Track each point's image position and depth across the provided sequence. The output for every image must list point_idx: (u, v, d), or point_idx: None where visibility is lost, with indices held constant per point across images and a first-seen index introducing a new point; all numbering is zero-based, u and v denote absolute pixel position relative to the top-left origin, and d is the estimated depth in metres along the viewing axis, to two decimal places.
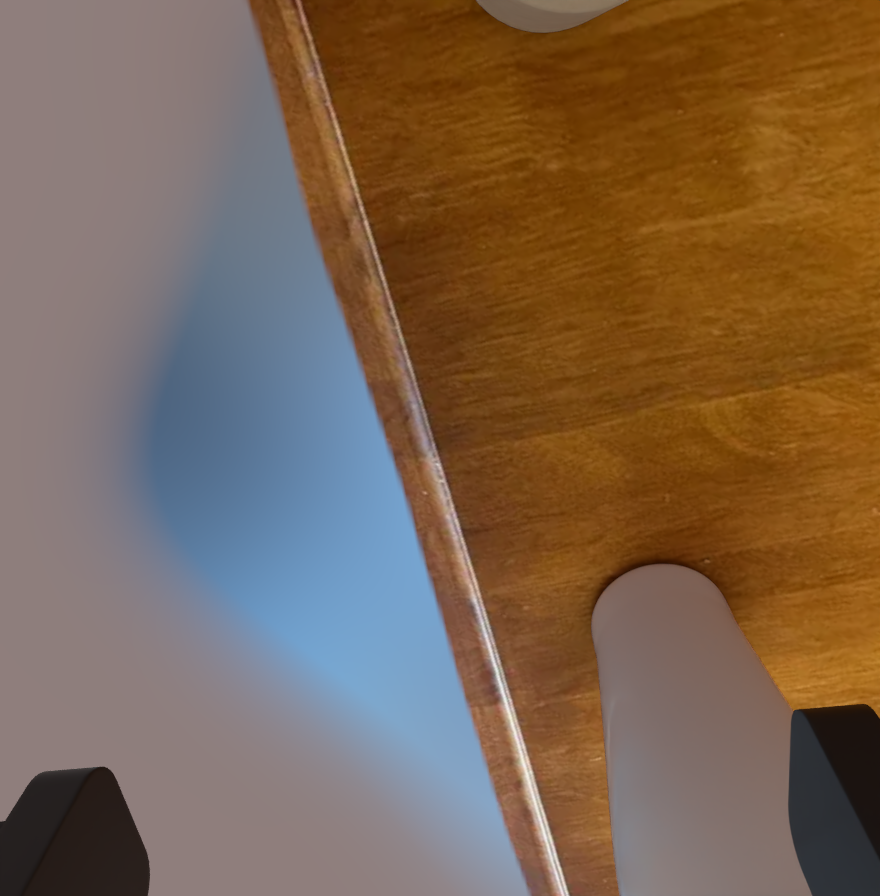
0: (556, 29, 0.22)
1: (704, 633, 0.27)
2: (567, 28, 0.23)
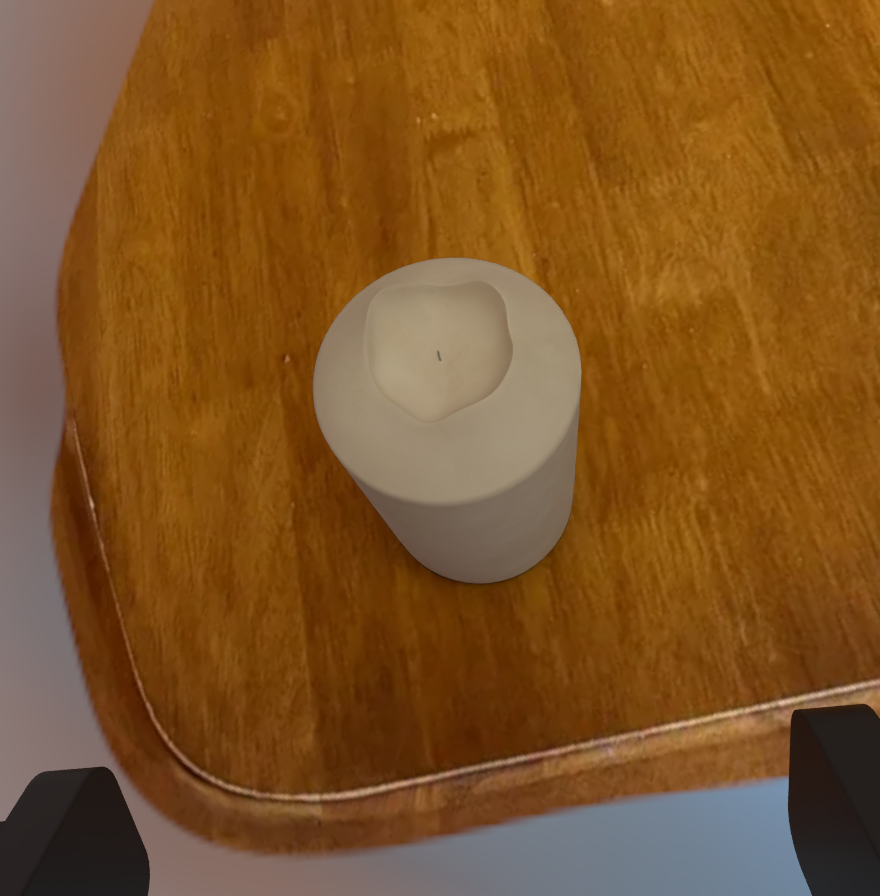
0: None
1: None
2: None
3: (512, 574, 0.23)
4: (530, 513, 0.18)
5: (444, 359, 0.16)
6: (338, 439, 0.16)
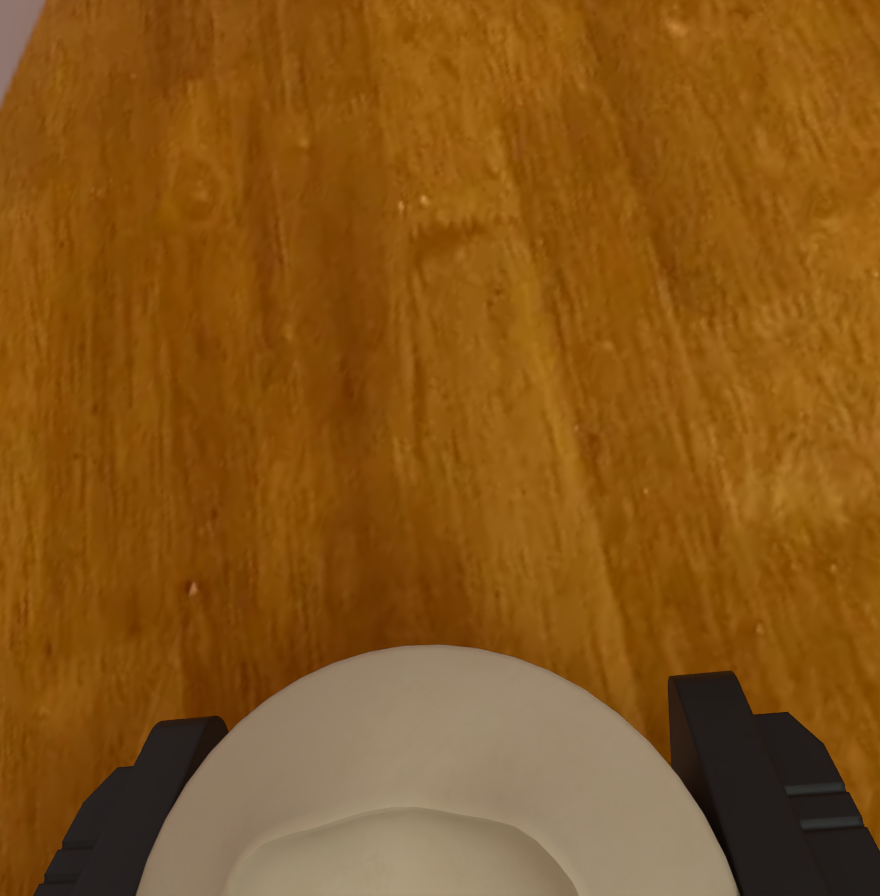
0: None
1: None
2: None
3: None
4: None
5: None
6: None
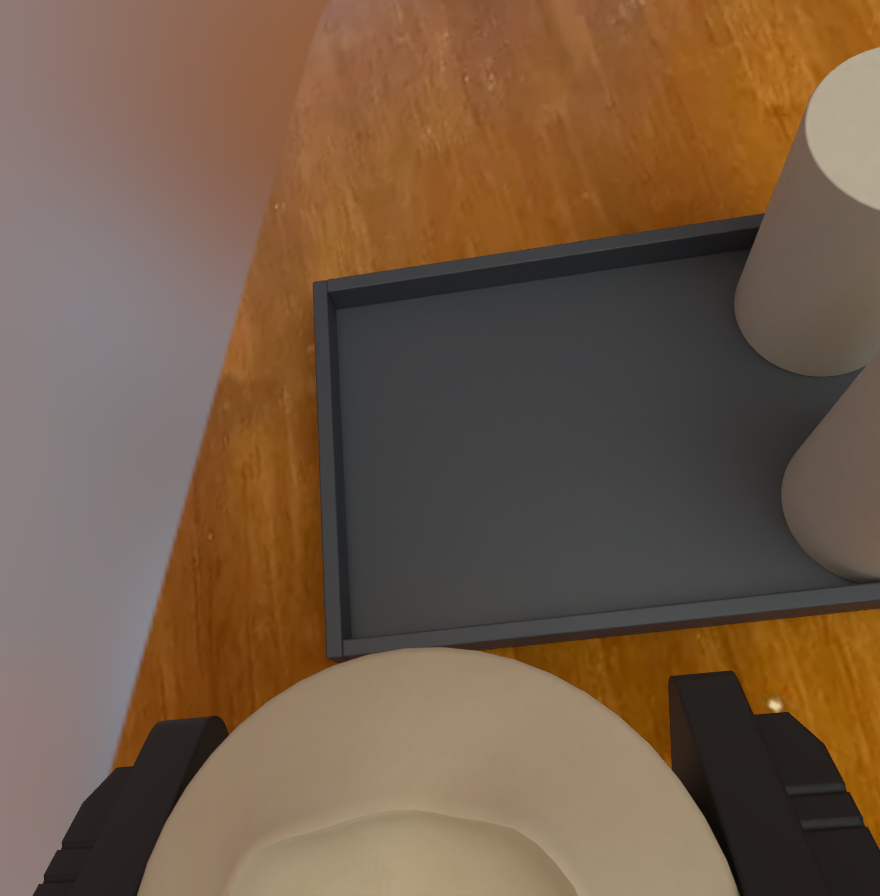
0: None
1: None
2: None
3: None
4: None
5: None
6: None
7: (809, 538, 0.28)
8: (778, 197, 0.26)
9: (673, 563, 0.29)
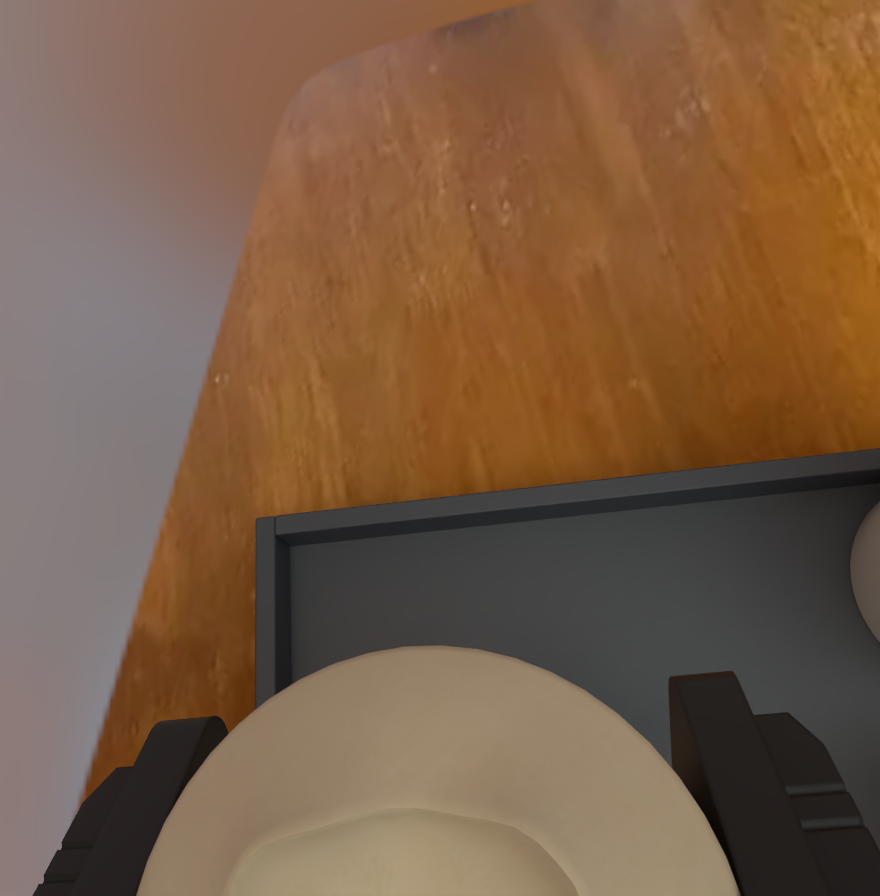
0: None
1: None
2: None
3: None
4: None
5: None
6: None
7: None
8: None
9: None
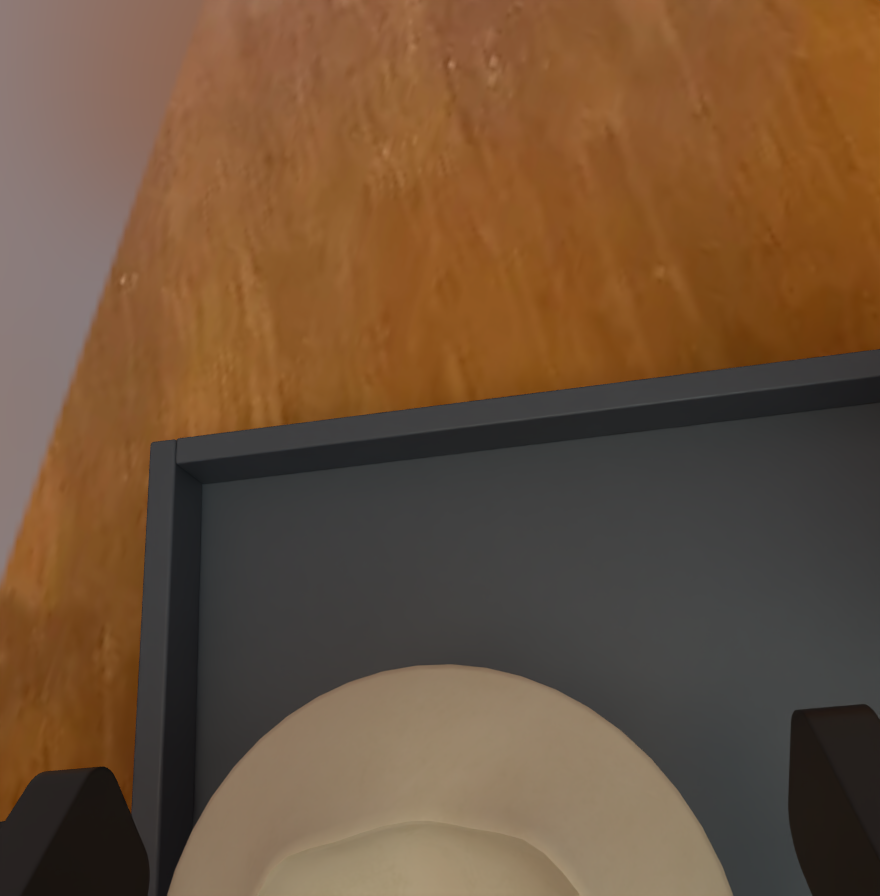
0: None
1: None
2: None
3: None
4: None
5: None
6: None
7: None
8: None
9: None
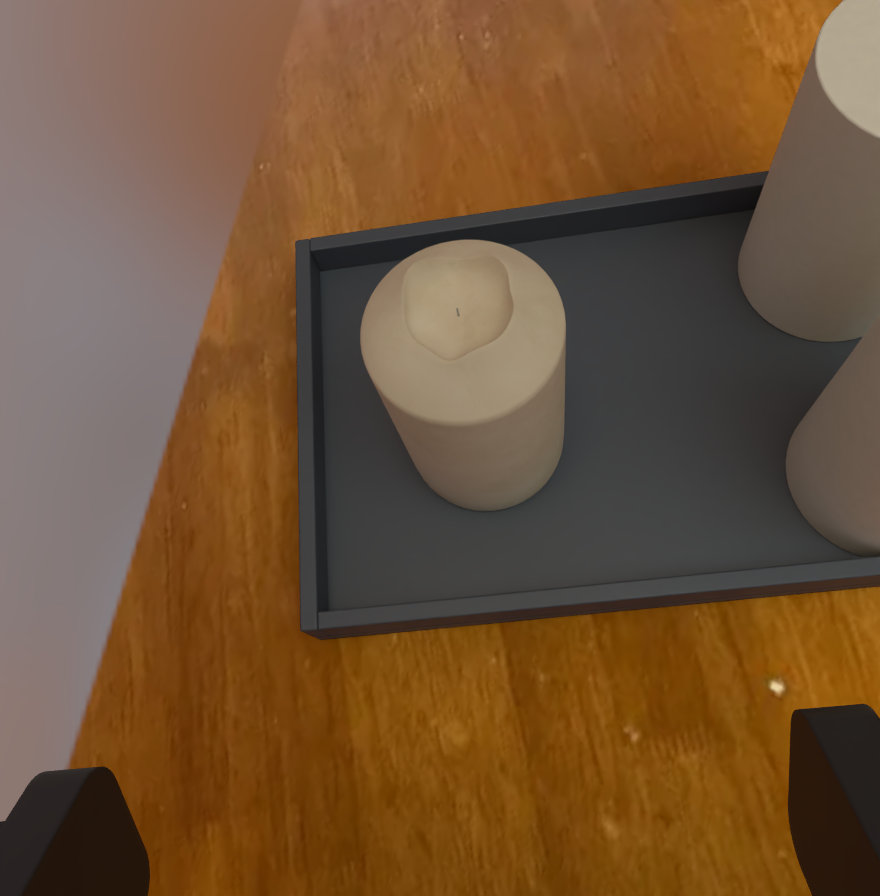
0: None
1: None
2: None
3: (513, 502, 0.28)
4: (527, 439, 0.23)
5: (462, 315, 0.21)
6: (381, 375, 0.21)
7: (815, 509, 0.26)
8: (785, 141, 0.24)
9: (670, 535, 0.27)
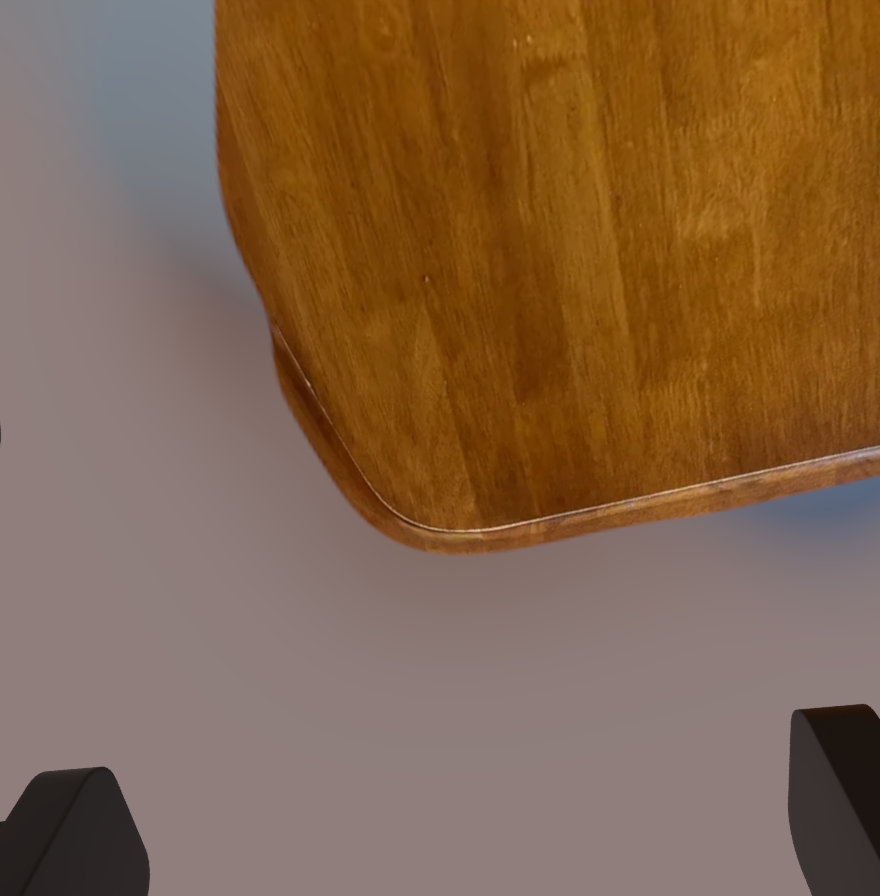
0: None
1: None
2: None
3: None
4: None
5: None
6: None
7: None
8: None
9: None
